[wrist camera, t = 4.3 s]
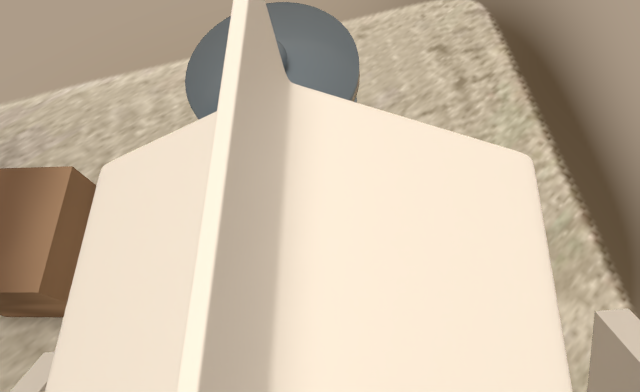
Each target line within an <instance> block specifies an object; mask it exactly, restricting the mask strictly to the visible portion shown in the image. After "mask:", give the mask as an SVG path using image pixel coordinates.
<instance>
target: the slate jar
mask: <svg viewBox="0 0 640 392" xmlns="http://www.w3.org/2000/svg"><path fill="white" fill-rule="evenodd" d="M266 6H267V9H268V13H269V17H270V20H271V24H272V27H273V31H274V34H275V38H276V42H277V45H278V49H279V52H280V56H281V60H282V63H283V66H284V69H285V72H286V75H287V77H288V79H289V80H290V82H292V83H294V84H297V85H300V86H303V87H307V88H310V89H313V90H316V91H320V92H323V93H326V94H330V95H333V96H336V97H340V98H343V99H346V100H350V101H353V102H356V103H357V99H356V95H357V92H358V87H359V78H360V72H359V57H358V52H357V48H356V45H355V42H354V40H353V38H352V36H351V35H350V33H349V32H348V30H347V29H346V28H345V27H344V26H343V25H342V23H341V22H339V21H338V20H337V19H336V18H334V17H333V16H331V15H330V14H328V13H326V12H324V11H322V10H320V9H318V8H315V7H312V6H308V5H304V4H299V3H290V2H276V3H267V4H266ZM230 18H231V16H230V17H228V18H226V19H225V20H223V21H222V22H220V23H219V24H217V25H216V26H215V27H214V28H213V29H211V30H210V31H209V32H208V33H207V35H205V36H204V37H203V39H202V40H201V41H200V43H199V44H198V45H197V47H196V49H195V50H194V52H193V54H192V56H191V58H190V61H189V63H188V67H187V71H186V79H185V86H186V94H187V98H188V101H189V103H190V106H191V108H192V110H193V111H194V113H195V115H196V116H197V118H198V119H201V118H203V117H205V116H208V115H210V114H212V113H214V112H216V111H217V107H218V100H219V93H220V87H221V80H222V73H223V66H224V59H225V52H226V46H227V39H228V32H229V25H230Z"/></svg>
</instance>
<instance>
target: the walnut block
mask: <svg viewBox="0 0 640 392" xmlns="http://www.w3.org/2000/svg"><path fill="white" fill-rule="evenodd" d="M95 190H96V185H95V184H94V183H92V182H91V181H90V180H89V179H87V178H86V177H85V176H84V175H82V174H81V173H80V172H79V171H77V170H76V169H75V168H74V167H72V166H71V167H38V168H5V169H0V315H2V316H6V317H64V313H65V309H66V305H67V301H68V297H69V293H70V289H71V285H72V281H73V277H74V273H75V269H76V265H77V261H78V257H79V253H80V249H81V245H82V241H83V237H84V233H85V229H86V225H87V222H88V218H89V214H90V210H91V206H92V202H93V198H94V194H95Z"/></svg>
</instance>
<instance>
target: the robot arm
mask: <svg viewBox="0 0 640 392" xmlns="http://www.w3.org/2000/svg"><path fill="white" fill-rule="evenodd" d="M54 353H55V352H45V353H43V354H42V355H41V357H40V358H39V359H38V360H37V361H36V362H35V363H34V364H33V366H32V367H31V368H30V369H29V370H28V371H27V372H26V373H25V375H24V376H23V377H22V378H21V379H20V380H19V381H18V382H17V384H16V385H15V386H14V387H13V388H12V389H11V390H10V392H45V389H46V385H47V381H48V377H49V373H50V369H51V365H52V361H53V357H54ZM587 392H640V320H639V319H638V318H637V317H636V316H635V315H634V314H633V313H632V312H631V311H630V310H629V309H616V310H603V311H595V315H594V325H593V336H592V346H591V357H590V367H589V378H588V388H587Z"/></svg>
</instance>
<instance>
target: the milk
mask: <svg viewBox="0 0 640 392" xmlns="http://www.w3.org/2000/svg"><path fill="white" fill-rule="evenodd" d="M45 392H573V390H572V385H571V379H570V373H569V367H568V361H567V355H566V349H565V343H564V338H563V332H562V326H561V320H560V314H559V308H558V302H557V297H556V291H555V285H554V279H553V273H552V267H551V261H550V256H549V250H548V244H547V238H546V232H545V226H544V220H543V215H542V209H541V203H540V197H539V191H538V185H537V179H536V174H535V169H534V164H533V161H532V159H531V158H530V157H529V156H527V155H525V154H523V153H521V152H518V151H515V150H511V149H508V148H505V147H502V146H498V145H495V144H492V143H488V142H485V141H482V140H479V139H475V138H472V137H469V136H465V135H462V134H459V133H455V132H452V131H449V130H445V129H442V128H439V127H436V126H432V125H429V124H426V123H422V122H419V121H416V120H412V119H409V118H406V117H402V116H399V115H396V114H393V113H389V112H386V111H383V110H379V109H376V108H373V107H369V106H366V105H363V104H359V103H356V102H353V101H350V100H346V99H343V98H340V97H336V96H333V95H330V94H326V93H323V92H320V91H316V90H313V89H310V88H307V87H303V86H300V85H297V84H294V83H292V82H290V80H289V79H288V77H287V75H286V72H285V69H284V66H283V63H282V60H281V56H280V52H279V49H278V45H277V42H276V38H275V34H274V31H273V27H272V24H271V20H270V17H269V13H268V9H267V6H266V3H265V0H233V5H232V12H231V18H230V25H229V32H228V39H227V46H226V52H225V59H224V66H223V73H222V80H221V87H220V93H219V100H218V107H217V111H216V112H214V113H212V114H210V115H208V116H205V117H203V118H201V119H199V120H197V121H195V122H193V123H191V124H189V125H186V126H184V127H182V128H180V129H178V130H176V131H174V132H172V133H169V134H167V135H165V136H163V137H161V138H159V139H157V140H155V141H152V142H150V143H148V144H146V145H144V146H142V147H140V148H138V149H135V150H133V151H131V152H129V153H127V154H125V155H123V156H121V157H118V158H116V159H114V160H112V161H110V162H109V163H107V164H105V165H104V166H103V167H102V169H101V171H100V174H99V178H98V182H97V186H96V190H95V194H94V198H93V202H92V206H91V210H90V214H89V218H88V222H87V225H86V229H85V233H84V237H83V241H82V245H81V249H80V253H79V257H78V261H77V265H76V269H75V273H74V277H73V281H72V285H71V289H70V293H69V297H68V301H67V305H66V309H65V313H64V317H63V321H62V325H61V329H60V333H59V337H58V341H57V345H56V349H55V353H54V357H53V361H52V365H51V369H50V373H49V377H48V381H47V385H46V389H45Z"/></svg>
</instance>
